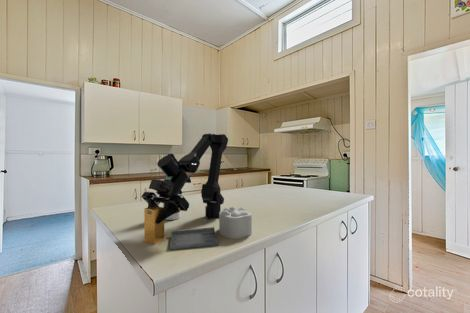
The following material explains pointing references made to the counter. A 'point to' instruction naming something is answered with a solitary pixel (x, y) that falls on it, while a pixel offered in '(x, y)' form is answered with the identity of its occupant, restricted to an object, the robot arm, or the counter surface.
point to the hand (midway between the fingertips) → (151, 222)
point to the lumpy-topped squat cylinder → (235, 223)
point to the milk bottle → (175, 215)
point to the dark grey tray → (193, 238)
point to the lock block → (153, 225)
